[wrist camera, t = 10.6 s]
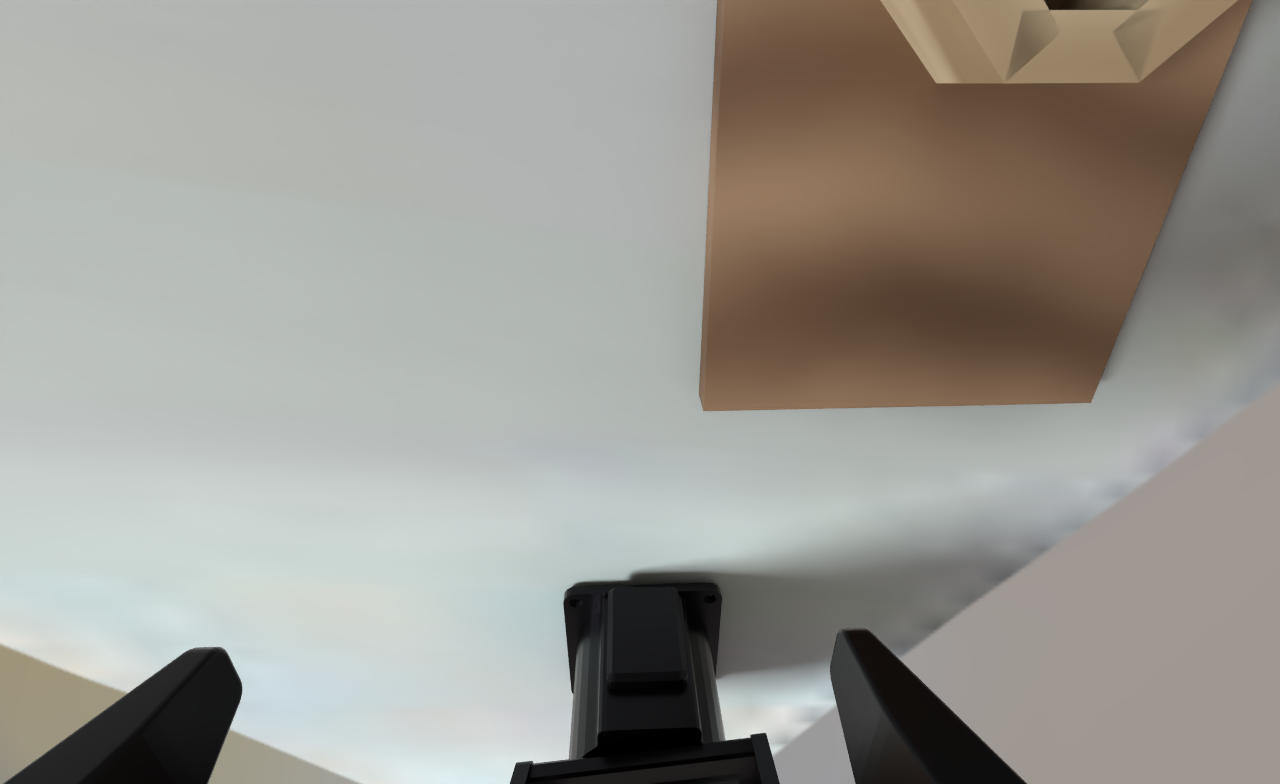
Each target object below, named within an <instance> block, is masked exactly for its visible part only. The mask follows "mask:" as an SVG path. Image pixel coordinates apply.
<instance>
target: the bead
mask: <svg viewBox="0 0 1280 784" xmlns="http://www.w3.org/2000/svg"><path fill="white" fill-rule="evenodd" d="M880 1H881V2H882V4H883V5H884V7H885V8H886V10H887V11H888V12H889V14H890V15H891V17H892V18H893V20H894V21H895V23H896V24H897V26H898V27H899V29H900V30H901V32H902V33H903V35H904V36H905V38H906V39H907V41H908V42H909V44H910V45H911V47H912V48H913V50H914V51H915V53H916V54H917V56H918V57H919V58H920V60H921V61H922V63H923V64H924V66H925V67H926V69H927V70H928V72H929V73H930V75H931V76H932V78H933V79H934V81H935V82H936V83H1139V82H1140V81H1141V80H1143V79H1144V78H1145V77H1146V76H1148V75H1149V74H1150V73H1151V72H1152V71H1154V70H1155V69H1156V68H1157V67H1158V66H1160V65H1161V64H1162V63H1163V62H1164V61H1166V60H1167V59H1168V58H1169V57H1170V56H1172V55H1173V54H1174V53H1175V52H1176V51H1178V50H1179V49H1180V48H1181V47H1182V46H1184V45H1185V44H1186V43H1187V42H1188V41H1190V40H1191V39H1192V38H1193V37H1194V36H1196V35H1197V34H1198V33H1199V32H1200V31H1202V30H1203V29H1204V28H1205V27H1206V26H1208V25H1209V24H1210V23H1211V22H1212V21H1214V20H1215V19H1216V18H1217V17H1218V16H1220V15H1221V14H1222V13H1223V12H1224V11H1226V10H1227V9H1228V8H1229V7H1230V6H1232V5H1233V4H1234V3H1235V2H1236V1H1238V0H1068V1H1067V2H1065V3H1064V4H1063V5H1062V6H1061V7H1060V8H1059V9H1058V10H1049V9H1048V7H1047V5H1046V3H1045V1H1044V0H880Z"/></svg>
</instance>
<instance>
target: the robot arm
mask: <svg viewBox="0 0 1280 784" xmlns="http://www.w3.org/2000/svg"><path fill="white" fill-rule="evenodd" d="M707 595H711V596H707ZM573 599H579V600H573ZM721 604H722V597H721V592H720V588H719V587H718V585H716V584H714V583H687V584H653V585H619V586H584V587H571V588H569V589H567V591H566V592H565V595H564V614H565V625H566V636H567V647H568V657H569V668H570V679H571V690H572V693H573V694H574V695H573V709H572V723H571V736H570V750H569V759H568V760H560V761H552V762H543V763H535V764H534V763H533V761H527V762H518V763H516V765H515V768H514V772H513V775H512V778H511V782H510V784H780V783H779V779H778V776H777V772H776V768H775V765H774V761H773V757H772V754H771V750H770V746H769V743H768V739H767V735H766V733H760V734H752V735H750V738H744V739H735V740H727V741H725V735H724V729H723V723H722V717H721V710H720V704H719V698H718V692H717V686H716V680H715V677H716V665H717V652H718V640H719V628H720V616H721ZM830 675H831V682H832V686H833V690H834V695H835V699H836V703H837V707H838V712H839V716H840V720H841V724H842V728H843V732H844V737H845V741H846V745H847V750H848V754H849V758H850V762H851V766H852V771H853V775H854V778H855V783H856V784H1027V783H1026V782H1025V781H1024V780H1023V779H1022V778H1021V777H1020V776H1018V774H1017V773H1016V772H1015V771H1013V770H1012V769H1011V768H1010V767H1009V766H1008V765H1007V764H1006V763H1005V762H1004V761H1003V760H1002V759H1001V758H1000V757H999V756H998V755H997V754H996V753H995V752H994V751H993V750H992V749H991V748H990V747H989V746H988V745H987V744H986V743H985V742H984V741H982V740H981V738H980V737H979V736H978V735H977V734H975V733H974V732H973V731H972V730H971V729H970V728H969V727H968V726H967V725H966V724H965V723H964V722H963V721H962V720H961V719H960V718H959V717H958V716H957V715H956V714H955V713H954V712H953V711H952V710H951V709H950V708H949V707H948V706H947V705H945V703H944V702H943V701H942V700H941V699H939V698H938V697H937V696H936V695H935V694H934V693H933V692H932V691H931V690H930V689H929V688H928V687H927V686H926V685H925V684H924V683H923V682H922V681H921V680H920V679H919V678H918V677H917V676H916V675H915V674H914V673H913V672H912V671H911V670H910V669H909V668H908V667H907V666H906V665H904V663H903V662H901V661H900V660H899V659H898V658H897V657H896V656H895V655H894V654H893V653H892V652H891V651H890V650H889V649H888V648H887V647H886V646H885V645H884V644H883V643H882V642H881V641H880V640H879V639H878V638H877V637H876V636H875V635H874V634H873V633H872V632H870V631H869V630H867V629H863V628H854V629H841V630H840V631H839V632H838V634H837V637H836V642H835V647H834V651H833V656H832V660H831V665H830ZM241 696H242V682H241V680H240V678H239V676H238V674H237V672H236V669H235V667H234V665H233V663H232V661H231V659H230V657H229V655H228V653H227V652H226V650H225V649H223V648H221V647H200V648H193V649H190V650H188V651H186V652H185V653H183V654H182V655H180V656H179V657H178V658H176V659H175V660H173V661H172V662H171V663H169V664H168V665H167V666H165V667H164V668H162V669H161V670H160V671H158V672H157V673H155V674H154V675H153V676H151V677H150V678H149V679H147V680H146V681H144V682H143V683H142V684H140V685H139V686H137V687H136V688H135V689H133V690H132V691H131V692H129V693H128V694H126V695H125V696H124V697H122V698H121V699H119V700H118V701H117V702H115V703H114V704H113V705H111V706H110V707H108V708H107V709H106V710H104V711H103V712H102V713H100V714H99V715H97V716H96V717H95V718H93V719H92V720H90V721H89V722H88V723H87V724H85V725H84V726H82V727H81V728H79V729H78V730H77V731H75V732H74V733H72V734H71V735H70V736H68V737H67V738H66V739H64V740H63V741H61V742H60V743H59V744H57V745H56V746H55V747H53V748H52V749H50V750H49V751H48V752H46V753H45V754H43V755H42V756H41V757H39V758H38V759H37V760H35V761H34V762H32V763H31V764H30V765H28V766H27V767H25V768H24V769H23V770H22V771H20V772H19V773H17V774H16V775H14V776H13V777H12V778H10V779H9V780H8V781H6V782H5V783H3V784H208V782H209V780H210V777H211V775H212V772H213V770H214V767H215V764H216V762H217V759H218V757H219V754H220V751H221V749H222V746H223V744H224V741H225V739H226V736H227V734H228V731H229V729H230V726H231V723H232V721H233V718H234V716H235V713H236V711H237V708H238V705H239V703H240V700H241Z"/></svg>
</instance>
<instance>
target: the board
mask: <svg viewBox="0 0 1280 784" xmlns="http://www.w3.org/2000/svg"><path fill="white" fill-rule="evenodd" d="M1044 1H1045V3H1046V5H1047V7H1048V9H1049V10H1058V9H1059V8H1060V7H1061V6H1062V5H1063V4H1064V3H1065V2H1067V1H1068V0H1044ZM1251 2H1252V0H1238V1H1236V2H1235V3H1234V4H1233V5H1232V6H1230V7H1229V8H1228V9H1227V10H1226V11H1224V12H1223V13H1222V14H1221V15H1220V16H1218V17H1217V18H1216V19H1215V20H1214V21H1212V22H1211V23H1210V24H1209V25H1208V26H1206V27H1205V28H1204V29H1203V30H1202V31H1200V32H1199V33H1198V34H1197V35H1196V36H1194V37H1193V38H1192V39H1191V40H1190V41H1188V42H1187V43H1186V44H1185V45H1184V46H1182V47H1181V48H1180V49H1179V50H1178V51H1176V52H1175V53H1174V54H1173V55H1172V56H1170V57H1169V58H1168V59H1167V60H1166V61H1164V62H1163V63H1162V64H1161V65H1160V66H1158V67H1157V68H1156V69H1155V70H1154V71H1152V72H1151V73H1150V74H1149V75H1148V76H1146V77H1145V78H1144V79H1143V80H1141V81H1140V82H1139V83H936V82H935V81H934V79H933V78H932V76H931V75H930V73H929V72H928V70H927V69H926V67H925V66H924V64H923V63H922V61H921V60H920V58H919V57H918V56H917V54H916V53H915V51H914V50H913V48H912V47H911V45H910V44H909V42H908V41H907V39H906V38H905V36H904V35H903V33H902V32H901V30H900V29H899V27H898V26H897V24H896V23H895V21H894V20H893V18H892V17H891V15H890V14H889V12H888V11H887V10H886V8H885V7H884V5H883V4H882V2H881V1H880V0H717V18H716V40H715V61H714V83H713V104H712V126H711V148H710V169H709V191H708V212H707V234H706V255H705V277H704V298H703V320H702V341H701V363H700V385H699V396H700V400H701V403H702V407H703V411H731V410H777V409H824V408H871V407H917V406H964V405H1010V404H1057V403H1091V401H1092V399H1093V396H1094V394H1095V391H1096V389H1097V386H1098V384H1099V381H1100V379H1101V376H1102V374H1103V371H1104V369H1105V366H1106V364H1107V361H1108V359H1109V356H1110V354H1111V351H1112V349H1113V346H1114V344H1115V341H1116V339H1117V336H1118V334H1119V331H1120V329H1121V326H1122V324H1123V321H1124V319H1125V316H1126V314H1127V311H1128V309H1129V306H1130V304H1131V301H1132V299H1133V296H1134V294H1135V292H1136V289H1137V287H1138V284H1139V282H1140V279H1141V277H1142V274H1143V272H1144V269H1145V267H1146V264H1147V262H1148V259H1149V257H1150V254H1151V252H1152V249H1153V247H1154V244H1155V242H1156V239H1157V237H1158V234H1159V232H1160V229H1161V227H1162V224H1163V222H1164V219H1165V217H1166V214H1167V212H1168V209H1169V207H1170V204H1171V202H1172V199H1173V197H1174V194H1175V192H1176V189H1177V187H1178V184H1179V182H1180V179H1181V177H1182V174H1183V172H1184V169H1185V167H1186V164H1187V162H1188V159H1189V157H1190V154H1191V152H1192V149H1193V147H1194V144H1195V142H1196V139H1197V137H1198V134H1199V132H1200V129H1201V127H1202V125H1203V122H1204V120H1205V117H1206V115H1207V112H1208V110H1209V107H1210V105H1211V102H1212V100H1213V97H1214V95H1215V92H1216V90H1217V87H1218V85H1219V82H1220V80H1221V77H1222V75H1223V72H1224V70H1225V67H1226V65H1227V62H1228V60H1229V57H1230V55H1231V52H1232V50H1233V47H1234V45H1235V42H1236V40H1237V37H1238V35H1239V32H1240V30H1241V27H1242V25H1243V22H1244V20H1245V17H1246V15H1247V12H1248V10H1249V7H1250V5H1251Z"/></svg>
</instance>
